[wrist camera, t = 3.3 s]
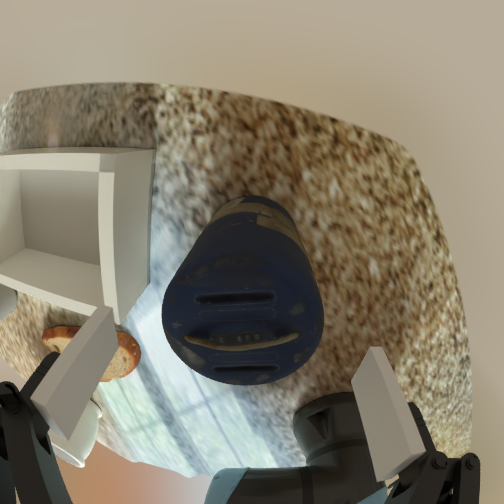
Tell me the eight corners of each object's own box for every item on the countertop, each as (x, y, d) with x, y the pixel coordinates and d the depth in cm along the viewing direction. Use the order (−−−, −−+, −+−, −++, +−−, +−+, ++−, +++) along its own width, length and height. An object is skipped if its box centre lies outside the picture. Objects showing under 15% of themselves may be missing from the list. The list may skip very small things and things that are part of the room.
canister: (286, 281, 32) (304, 411, 15) (204, 269, 32) (155, 390, 15) (304, 200, 28) (360, 283, 12) (213, 186, 28) (146, 250, 11)
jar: (70, 405, 47) (45, 450, 33) (63, 381, 43) (33, 431, 29) (108, 424, 48) (87, 473, 34) (105, 403, 44) (79, 458, 30)
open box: (156, 149, 27) (115, 154, 18) (149, 282, 33) (120, 325, 24) (19, 148, 26) (-26, 158, 18) (25, 252, 32) (-12, 277, 24)
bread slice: (149, 344, 37) (140, 361, 34) (120, 395, 43) (114, 409, 40) (54, 279, 34) (40, 291, 30) (45, 344, 40) (36, 356, 36)
